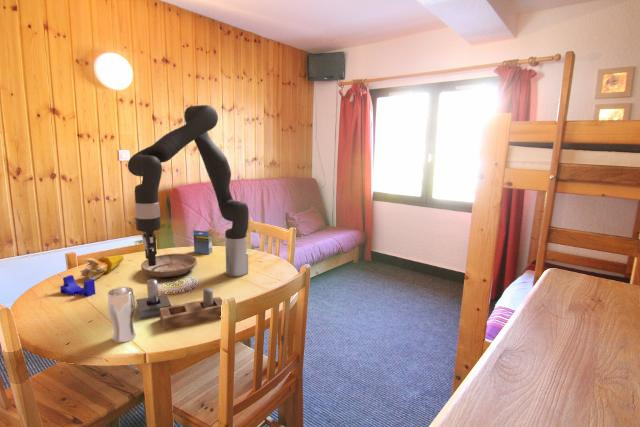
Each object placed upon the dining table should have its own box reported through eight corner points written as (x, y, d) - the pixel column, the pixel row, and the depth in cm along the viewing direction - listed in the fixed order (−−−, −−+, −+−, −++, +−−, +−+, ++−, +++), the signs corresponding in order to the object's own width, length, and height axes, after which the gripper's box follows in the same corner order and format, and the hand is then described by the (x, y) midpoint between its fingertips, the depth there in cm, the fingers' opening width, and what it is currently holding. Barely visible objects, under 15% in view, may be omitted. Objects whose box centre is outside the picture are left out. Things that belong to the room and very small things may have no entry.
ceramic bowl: (129, 276, 157) (128, 265, 156) (169, 260, 178) (169, 250, 177) (170, 285, 149) (169, 274, 148) (207, 268, 170) (207, 257, 169)
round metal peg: (158, 307, 129) (156, 278, 127) (159, 311, 126) (157, 281, 124) (148, 309, 127) (146, 280, 125) (149, 313, 125) (147, 283, 123)
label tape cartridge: (212, 252, 193) (212, 229, 191) (208, 254, 189) (208, 231, 187) (197, 250, 195) (197, 228, 193) (193, 252, 191) (192, 230, 189)
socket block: (166, 301, 134) (166, 294, 133) (171, 313, 125) (171, 305, 125) (136, 307, 129) (136, 299, 128) (139, 319, 120) (138, 311, 120)
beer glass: (117, 331, 112) (113, 286, 109) (140, 331, 113) (137, 286, 110) (106, 344, 106) (102, 296, 103) (131, 343, 106) (127, 296, 103)
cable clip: (60, 293, 138) (59, 279, 137) (72, 289, 142) (70, 275, 141) (84, 298, 134) (83, 283, 133) (95, 294, 139) (94, 279, 137)
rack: (219, 307, 131) (219, 283, 129) (226, 316, 124) (225, 291, 122) (160, 319, 121) (158, 294, 119) (163, 330, 114) (162, 303, 112)
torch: (123, 271, 172) (88, 285, 147) (109, 263, 172) (71, 276, 147) (131, 257, 171) (97, 268, 146) (117, 248, 171) (80, 258, 146)
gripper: (163, 218, 116) (165, 266, 119) (157, 211, 128) (159, 254, 131) (137, 220, 112) (140, 270, 116) (133, 212, 124) (136, 257, 127)
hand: (150, 261), depth 123 cm, fingers open, 8 cm apart
